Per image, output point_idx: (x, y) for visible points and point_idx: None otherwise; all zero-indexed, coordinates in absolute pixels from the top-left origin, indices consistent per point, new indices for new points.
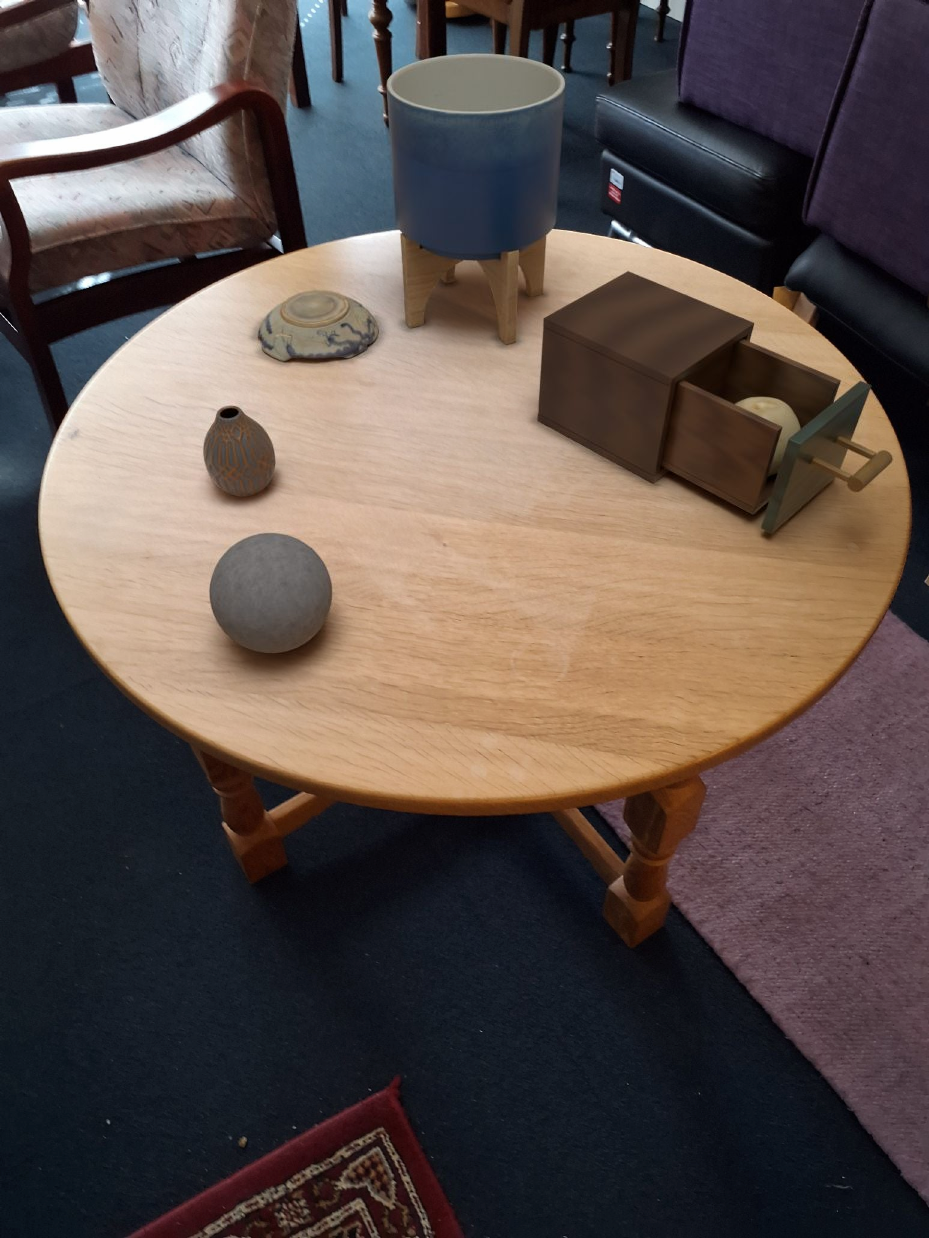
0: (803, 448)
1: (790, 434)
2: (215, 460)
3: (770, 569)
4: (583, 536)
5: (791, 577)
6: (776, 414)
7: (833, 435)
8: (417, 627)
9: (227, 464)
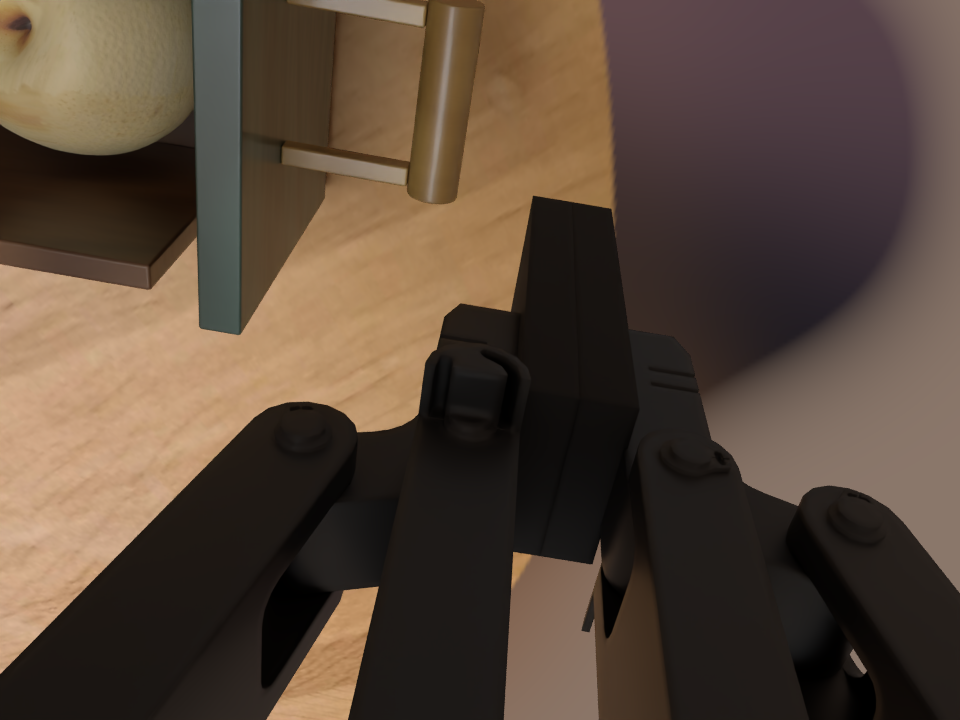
0: (250, 290)
1: (162, 71)
2: None
3: (376, 269)
4: (33, 376)
5: (424, 268)
6: (74, 83)
7: (274, 52)
8: (25, 639)
9: None
